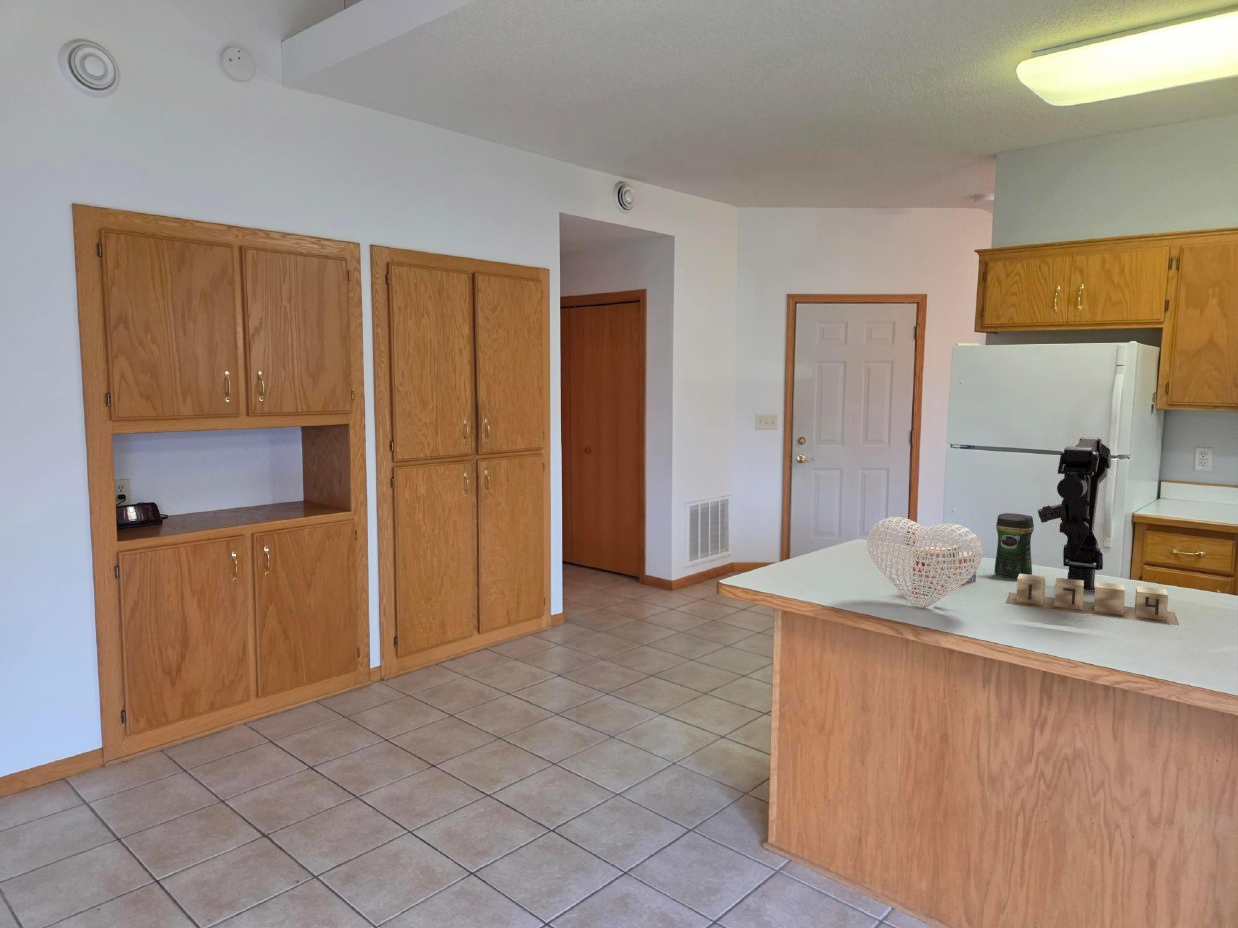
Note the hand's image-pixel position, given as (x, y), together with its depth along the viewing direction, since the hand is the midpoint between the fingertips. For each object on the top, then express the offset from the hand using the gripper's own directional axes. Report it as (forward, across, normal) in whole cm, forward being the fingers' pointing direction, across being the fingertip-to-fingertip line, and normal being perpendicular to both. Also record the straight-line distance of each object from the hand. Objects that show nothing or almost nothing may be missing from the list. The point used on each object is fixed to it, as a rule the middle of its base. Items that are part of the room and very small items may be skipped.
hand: (1073, 556), depth 202 cm
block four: (+11, +8, +17) cm, 22 cm away
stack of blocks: (+12, +3, -30) cm, 33 cm away
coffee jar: (+12, -23, -15) cm, 30 cm away
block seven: (+11, +8, 0) cm, 14 cm away
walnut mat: (+12, +8, +4) cm, 15 cm away
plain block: (+11, +8, +8) cm, 16 cm away
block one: (+11, +8, -9) cm, 16 cm away
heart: (+12, +26, -32) cm, 43 cm away
